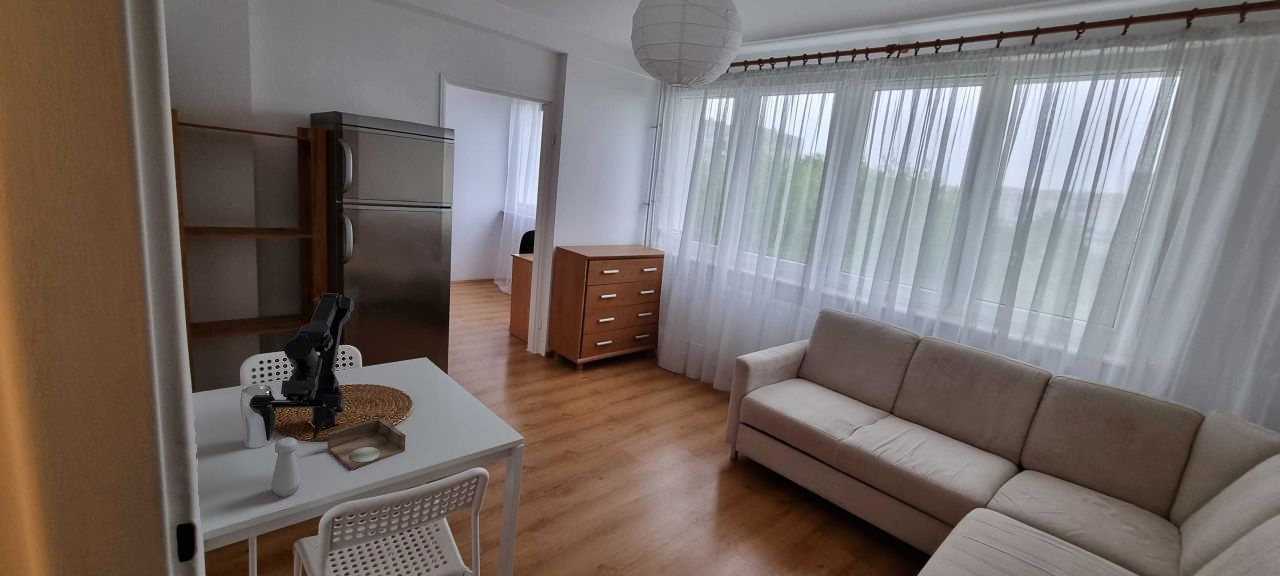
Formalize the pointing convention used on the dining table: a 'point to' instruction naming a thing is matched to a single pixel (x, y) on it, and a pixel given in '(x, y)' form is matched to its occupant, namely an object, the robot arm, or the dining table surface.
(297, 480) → the salt shaker
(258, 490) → the dining table surface
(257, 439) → the beer glass
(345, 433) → the corner tray
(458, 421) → the dining table surface
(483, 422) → the dining table surface
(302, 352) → the robot arm
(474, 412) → the dining table surface
